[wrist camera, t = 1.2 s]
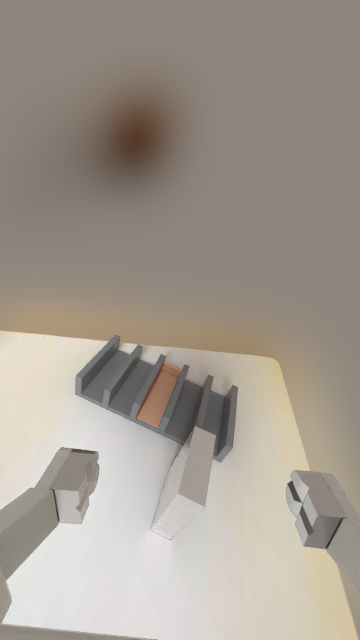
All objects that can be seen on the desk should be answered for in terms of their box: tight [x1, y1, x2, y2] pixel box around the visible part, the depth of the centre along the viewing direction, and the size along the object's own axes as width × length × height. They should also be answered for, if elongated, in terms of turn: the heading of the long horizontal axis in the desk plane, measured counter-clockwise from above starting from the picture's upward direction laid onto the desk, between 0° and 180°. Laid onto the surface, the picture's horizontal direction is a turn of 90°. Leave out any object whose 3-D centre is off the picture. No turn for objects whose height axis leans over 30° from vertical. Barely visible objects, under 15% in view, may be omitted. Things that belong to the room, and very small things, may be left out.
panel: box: [150, 426, 216, 540], centre depth 30 cm, size 3×8×14 cm, turn 163°
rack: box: [75, 335, 238, 462], centre depth 47 cm, size 30×15×6 cm, turn 73°
